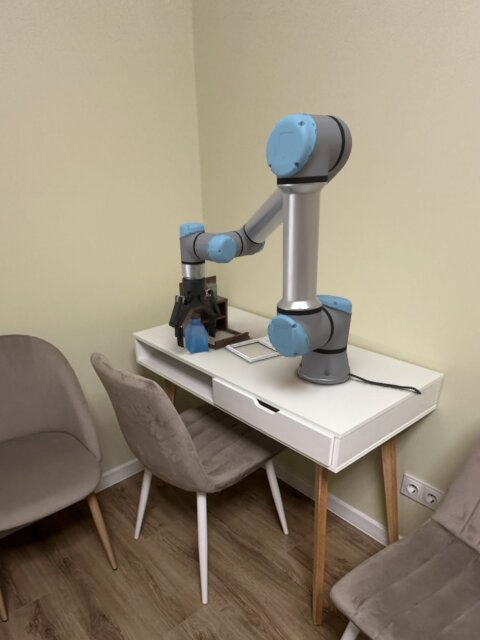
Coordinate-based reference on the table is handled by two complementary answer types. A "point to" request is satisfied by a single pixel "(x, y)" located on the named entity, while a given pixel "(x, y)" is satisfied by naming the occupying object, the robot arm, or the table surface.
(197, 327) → the perfume bottle
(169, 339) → the table surface
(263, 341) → the photo frame
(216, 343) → the desk rack
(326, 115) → the robot arm
